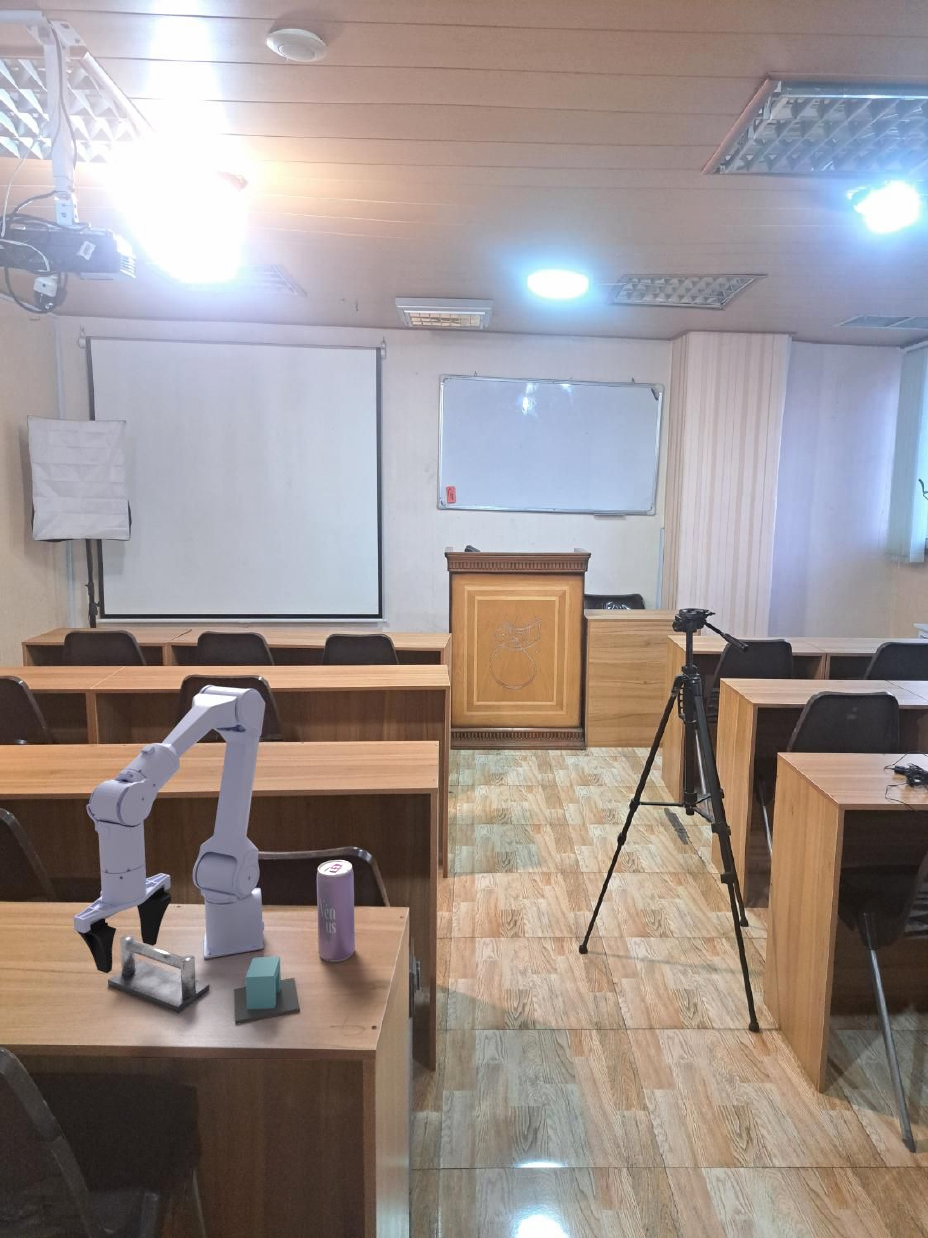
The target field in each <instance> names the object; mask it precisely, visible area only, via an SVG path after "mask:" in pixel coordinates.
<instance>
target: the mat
mask: <svg viewBox="0 0 928 1238" xmlns="http://www.w3.org/2000/svg"><path fill="white" fill-rule="evenodd" d="M295 979H296V978H295V977H291V978H285V979H281V989H280V992H278V993H276V1006H275V1008H269V1009H247V1001H246V986H241V987H236V988H234V989H233V997H234V998H233V1000H234V1021H235V1022H234V1023H235V1025H238V1024H239V1025H240V1024H243V1023H244V1024H245V1023H249V1022H253V1021H259V1020H262V1019H267V1018H268V1019H269V1018H274V1017H278V1016H282V1015H289V1014H293V1013H298V1012H300V1009H301V1008H300V1004H299V1003H300V1002H299V998H298V991H297V985H296V980H295Z"/></svg>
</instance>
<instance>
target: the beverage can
mask: <svg viewBox="0 0 928 1238" xmlns="http://www.w3.org/2000/svg"><path fill="white" fill-rule="evenodd" d="M354 882H355V879H354V870H353V865H352V863H351V862H349V861H346V860H342V859H335V860H328V861H326V862H323V863H320V865H319V866H318V867H317V872H316V899H317V900H316V901H317V905H316V906H317V908H316V909H317V936H318V937H317V941H318V942H317V943H318V947H317V948H318V954H319V956H320V957H321V958H322V959H323V961H325V962H328V963H329V962H330V963H339V962H343V961H346V960H348V959H349V958H350V957H352V955H353V954H354V952H355V949H356V941H355V940H356V939H355V938H356V936H355V934H356V932H355V927H356V926H355V883H354Z"/></svg>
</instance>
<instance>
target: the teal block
mask: <svg viewBox="0 0 928 1238" xmlns="http://www.w3.org/2000/svg"><path fill="white" fill-rule="evenodd" d="M281 976H282V975H281V957H280V956H269V957H268V956H264V957H263V956H262V957H252V960H251V963H250V964H249V967H248V970H247V972H246V975H245V987H246V1001H247V1009H269V1008H275V1006H276V993H278V992H280V989H281V980H282V977H281Z"/></svg>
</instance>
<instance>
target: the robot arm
mask: <svg viewBox="0 0 928 1238" xmlns="http://www.w3.org/2000/svg"><path fill="white" fill-rule="evenodd" d="M265 710H266V702H265V700H264V699H263V697H262V695H261V693H260V692H259V691H258V689H255V688H239V687H238V688H237V687H229V686H228V687H227V686H226V687H225V686H216V685H213V684H207V685H205V686H204V687H202V688H201V689H200V690H199V692H198V693H197V694H195V696H193V697H192V703H191V709H190V710H189V711H188V712H187V713H186V714H185V715H184V717H183V718H182V719H181V720H180V722H178V723H177V724H176V726H175V727H174V728H173V729H172V731H170V733H169V734H168V735H167V736H166V738H164V740H163V741H162V742H161V743H159V742H153V743H150V744H149V745H145V746H143V747H142V749H140V753H139V754H138V755H137V756H136V757H135V758H134V759H133V760H132V761H131V762H130V763H129V764H128V765H127V766H126V767H125V768H123V769H122V770H121V771H119V772H118V775H116V776H115V777H114V779H108V780H104V781H103V782H101V783H100V784H98V785H97V786H96V787H95V788H94V789H93V791H92V792H91V794H90V797H89V802H88V804H86V811H87V814H88V816H89V817H90V819H91V820H92V821H93V822H94V829H95V832H96V833H98V842H99V843H98V845H99V846H98V847H99V848H98V850H99V863H100V865H99V866H100V880H101V881H100V883H101V891H100V897H99V898H97V899H96V900H95V901H94V902H93V903H91V904H90V905H89V906H88V907H86V908H85V909H84V910H83V911H81V912H79V913H78V914H75V915H74V916H73V930H74V931H76V933H78V934H79V935H80V937H81V939H82V940H83V941H84V942H85V944H86V945H87V947H88V949H89V951H90V953H91V955H92V958H93V961H94V963H95V964H94V965H95V966H96V969H97V971H99V972H102V973H105V974H109V973H111V972H112V970H113V944H114V938H115V934H116V932H117V928H116V927H113V926H110V925H109V922H106V920H107V919H109V918H110V917H113V916H115V915H116V914H119V913H120V912H123V911H126V910H129V909H132V908H135V907H137V912H138V916H139V922H140V923H139V924H140V933H141V934H140V935H141V940H142V943H143V944H146V945H149V946H152V947H154V946H155V945H156V944H157V941H158V936H159V932H160V928H161V924H162V921H163V918H164V915H165V913H166V911H167V908H168V907H169V906H170V904H171V902H172V894H171V893H170V892H166V891H167V890H169V889H170V888H171V887H172V885H171V875H169V874H166V873H162V872H160V873H158V874H156V875H153V876H150V877H147V874H146V873H147V871H146V855H145V853H146V852H145V851H146V849H145V829H144V820H146V819H147V818H148V817H149V815H150V813H151V810H152V808H153V803H154V801H155V800H156V799H157V796H158V792H159V791H161V789H163V787H164V786H165V785H166V784H167V783H168V782H169V781H170V780H171V778H172V777H174V776H175V774H177V772H178V771H179V770H180V767H181V764H180V758H181V757H182V756H183V755H184V754H186V753H187V751H189V750H190V749H191V748H193V746H194V745H196V743H197V742H199V741H200V740H201V739H202V738H203V737H205V736H206V735H207V734H208V733H209V732H211V730H214V731H216V732H217V733H219V735H220V736H221V737H222V738H223V740H224V741H225V743H226V745H225V751H224V758H223V759H224V760H223V765H222V766H223V767H222V773H221V781H220V787H219V794H218V795H219V796H218V802H217V809H216V818H215V824H214V829H213V830H214V832H213V835H212V836H211V837H209V838H208V839H207V840H206V841H205V842H203V843H202V844H201V845H200V847H199V852H198V853H199V854H198V856H197V859H196V861H195V863H194V866H193V869H192V882H193V884H194V885H195V887H196V888H198V889H200V895H201V896H202V897H204V912H205V913H204V914H205V915H204V916H205V933H204V935H203V937H204V938H203V939H204V940H203V958H204V959H212V958H217V957H218V958H219V957H223V956H224V957H225V956H230V955H235V954H240V953H247V952H252V951H253V952H254V951H258V950H263V948H264V931H265V920H264V919H263V904H262V890H261V888H260V887H257V884H258V882H259V880H260V879H259V878H260V868H259V867H260V866H259V853H260V852H259V849H258V848H257V847H256V845H255V844H254V843H253V842H252V841H251V840H250V839H249V838H248V836H247V834H248V827H249V819H250V812H251V811H250V810H251V804H252V797H253V796H252V795H253V787H254V780H255V775H256V773H255V772H256V766H257V759H258V753H259V752H258V751H259V744H260V737H261V736H262V733H263V724H264V716H265Z"/></svg>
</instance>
